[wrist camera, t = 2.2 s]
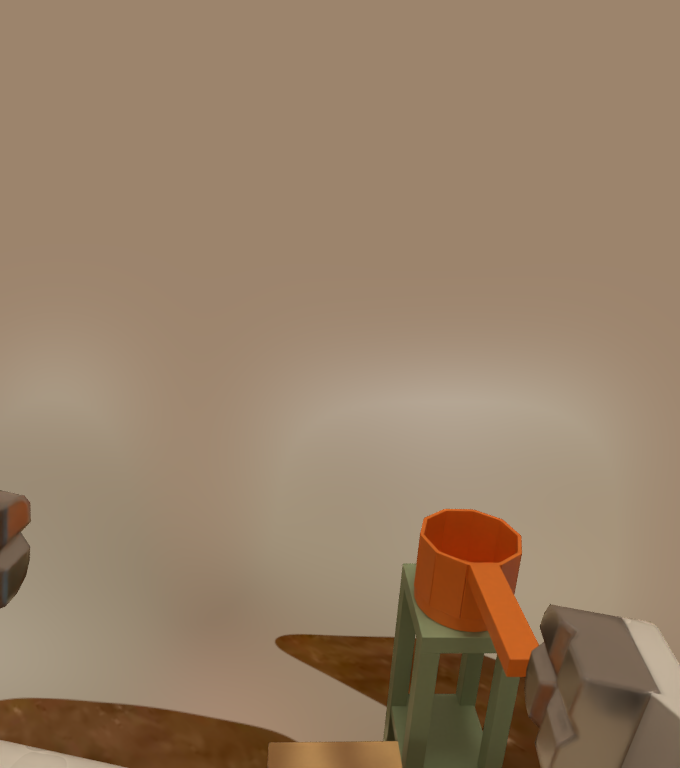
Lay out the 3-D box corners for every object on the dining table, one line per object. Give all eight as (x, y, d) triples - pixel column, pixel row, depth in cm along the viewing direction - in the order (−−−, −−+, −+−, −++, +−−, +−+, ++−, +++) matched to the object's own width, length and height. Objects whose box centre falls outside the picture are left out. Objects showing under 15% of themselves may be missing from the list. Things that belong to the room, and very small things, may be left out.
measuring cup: (404, 569, 54) (411, 508, 52) (495, 570, 55) (505, 509, 53) (449, 737, 39) (461, 659, 37) (574, 735, 39) (593, 659, 37)
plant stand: (396, 837, 54) (422, 637, 47) (382, 744, 62) (402, 563, 55) (488, 835, 54) (528, 637, 47) (462, 743, 63) (492, 564, 56)
